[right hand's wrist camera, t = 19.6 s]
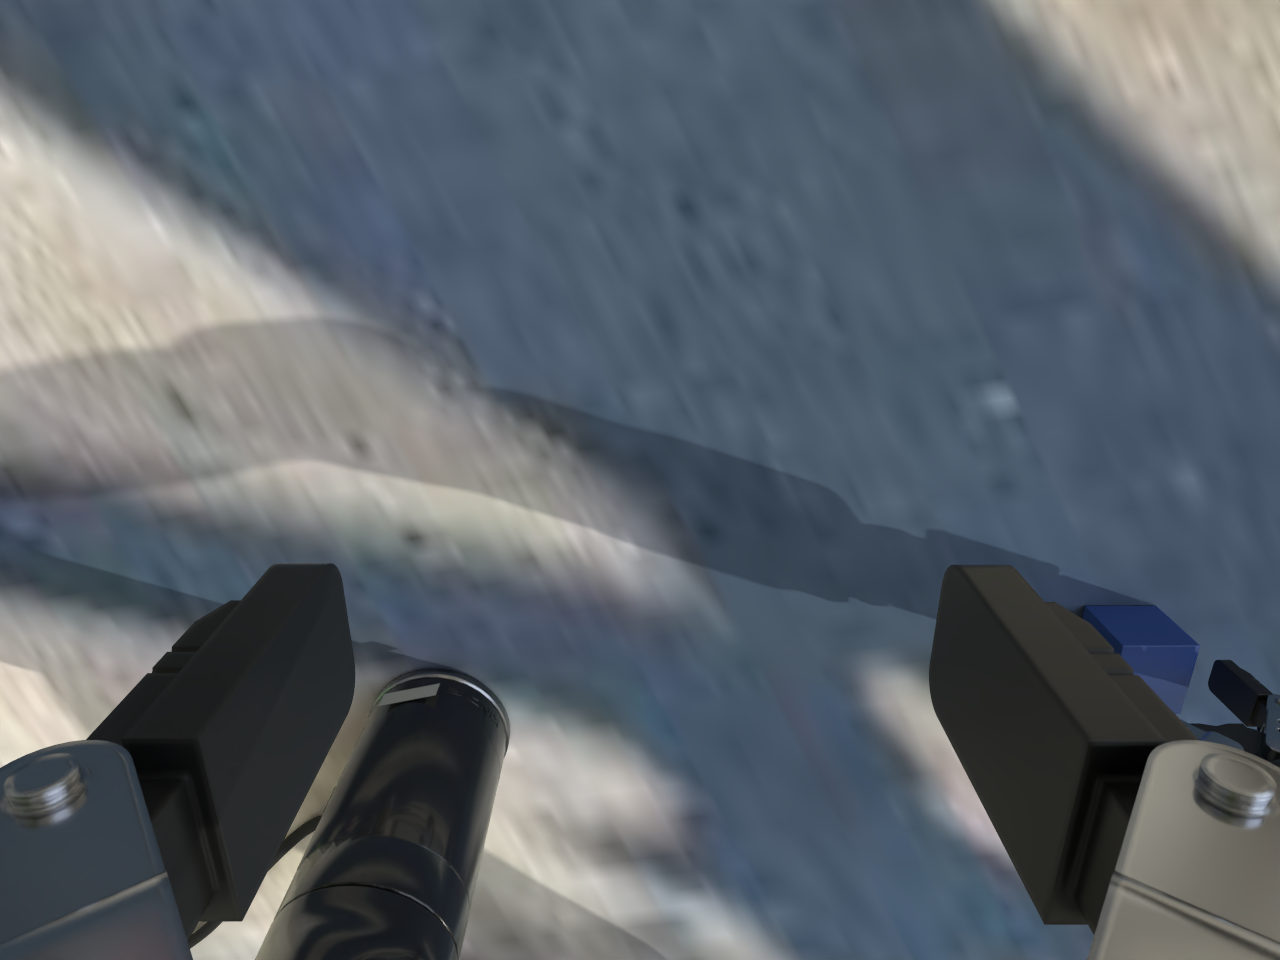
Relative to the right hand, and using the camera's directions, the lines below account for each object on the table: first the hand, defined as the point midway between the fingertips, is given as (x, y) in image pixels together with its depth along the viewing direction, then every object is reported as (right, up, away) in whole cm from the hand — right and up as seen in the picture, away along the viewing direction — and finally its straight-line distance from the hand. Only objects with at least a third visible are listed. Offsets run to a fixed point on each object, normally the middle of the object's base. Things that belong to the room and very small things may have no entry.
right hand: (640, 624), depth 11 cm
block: (+30, -8, +43) cm, 54 cm away
